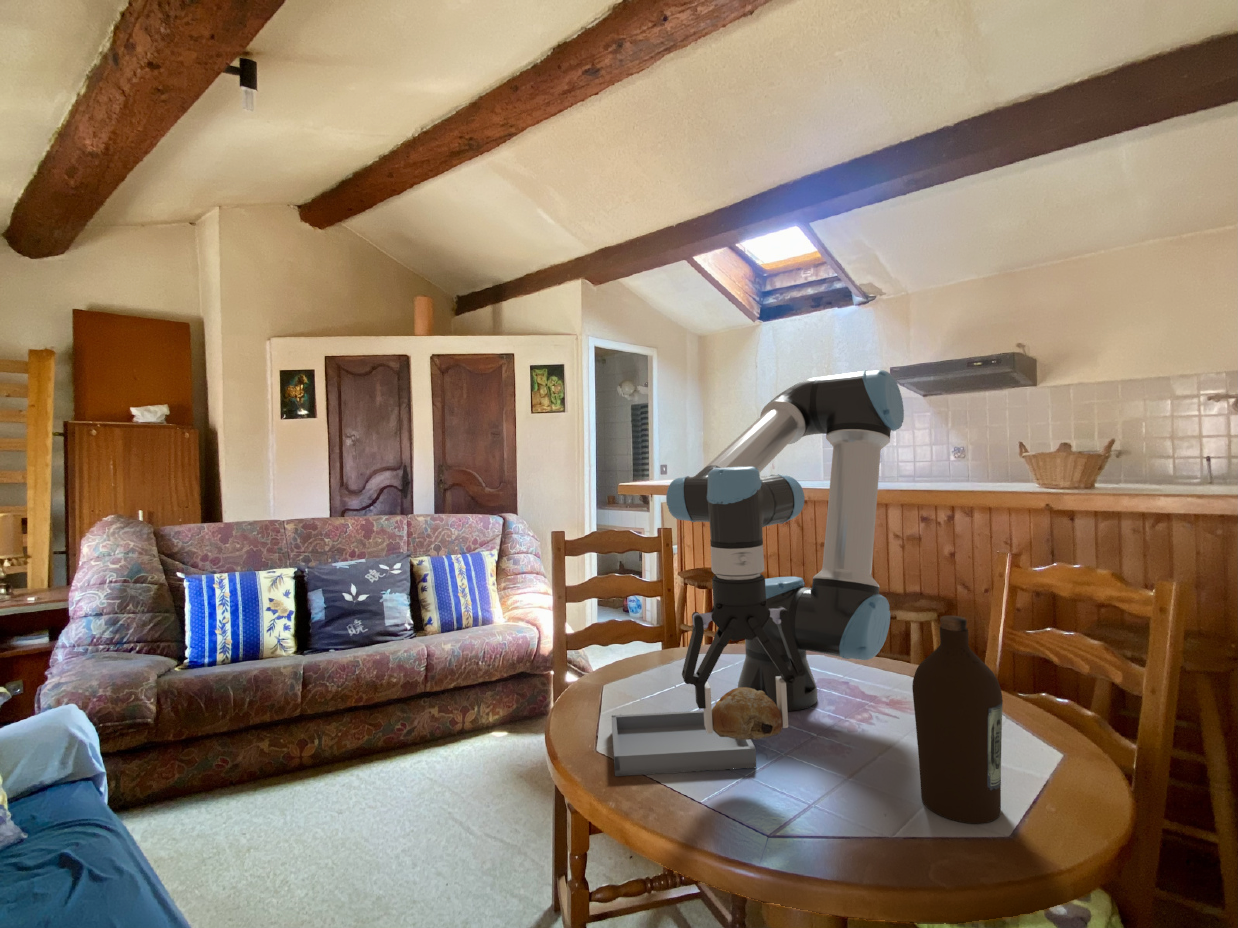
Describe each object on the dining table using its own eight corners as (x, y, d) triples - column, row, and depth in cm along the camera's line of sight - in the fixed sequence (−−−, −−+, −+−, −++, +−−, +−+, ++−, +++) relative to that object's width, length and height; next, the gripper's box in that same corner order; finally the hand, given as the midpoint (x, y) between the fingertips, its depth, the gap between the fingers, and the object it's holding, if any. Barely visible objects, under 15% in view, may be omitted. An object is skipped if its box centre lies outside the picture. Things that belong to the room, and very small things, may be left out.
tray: (734, 725, 114) (733, 708, 114) (756, 768, 98) (755, 748, 98) (612, 732, 113) (611, 715, 113) (615, 776, 97) (614, 756, 97)
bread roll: (733, 769, 87) (745, 717, 85) (692, 724, 96) (702, 675, 94) (788, 757, 92) (801, 707, 90) (744, 715, 100) (755, 669, 99)
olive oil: (910, 813, 84) (903, 623, 84) (922, 777, 93) (916, 606, 93) (1004, 836, 79) (997, 632, 78) (1007, 796, 88) (1001, 613, 87)
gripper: (662, 584, 88) (670, 744, 89) (825, 574, 89) (832, 732, 90) (656, 574, 96) (664, 721, 97) (807, 564, 97) (814, 710, 97)
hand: (745, 726), depth 93 cm, fingers closed on bread roll, 10 cm apart
